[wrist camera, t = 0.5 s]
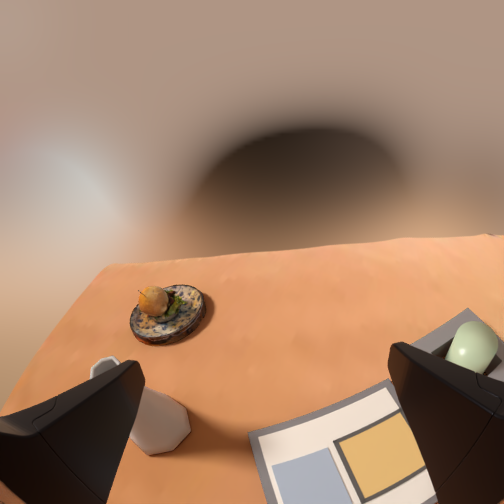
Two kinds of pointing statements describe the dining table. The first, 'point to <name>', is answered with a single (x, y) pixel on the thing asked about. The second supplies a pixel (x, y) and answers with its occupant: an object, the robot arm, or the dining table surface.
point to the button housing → (442, 339)
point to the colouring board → (344, 455)
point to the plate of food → (167, 314)
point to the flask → (153, 417)
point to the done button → (473, 346)
